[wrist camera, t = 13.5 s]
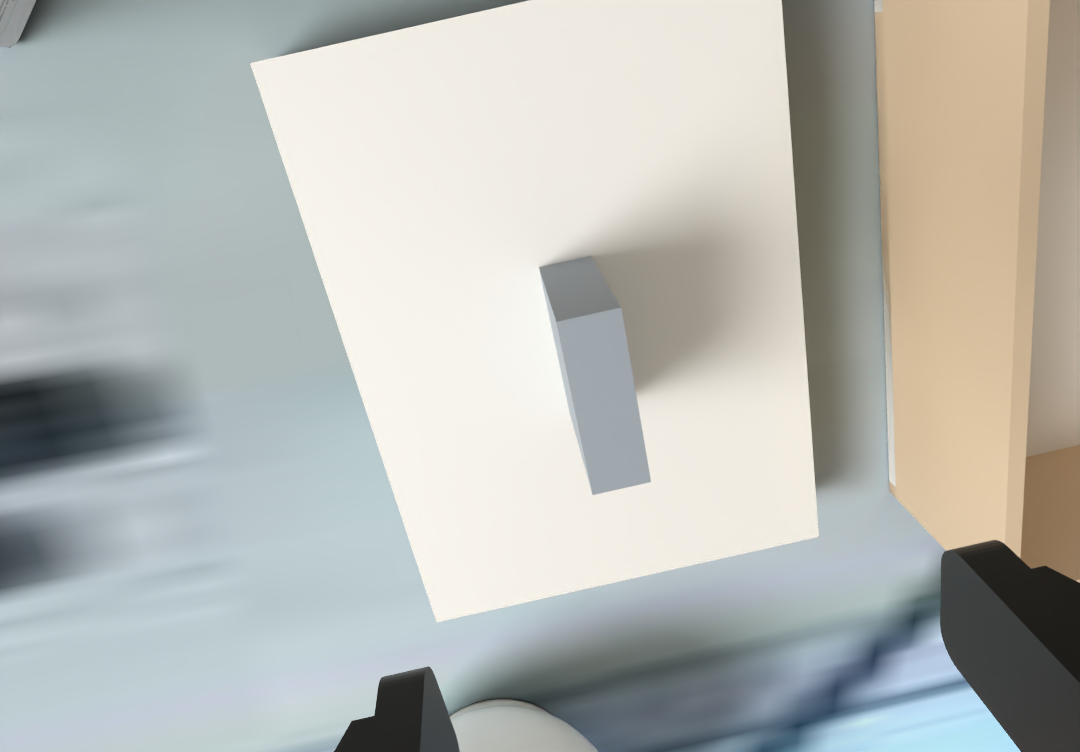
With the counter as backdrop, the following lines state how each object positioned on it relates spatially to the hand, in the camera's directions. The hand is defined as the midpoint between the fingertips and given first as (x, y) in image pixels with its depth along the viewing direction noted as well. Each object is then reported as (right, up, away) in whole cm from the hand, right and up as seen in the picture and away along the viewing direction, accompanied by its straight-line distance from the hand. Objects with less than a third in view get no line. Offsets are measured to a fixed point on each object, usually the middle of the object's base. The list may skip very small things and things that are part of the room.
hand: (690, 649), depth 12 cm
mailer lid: (-1, +6, +14) cm, 16 cm away
